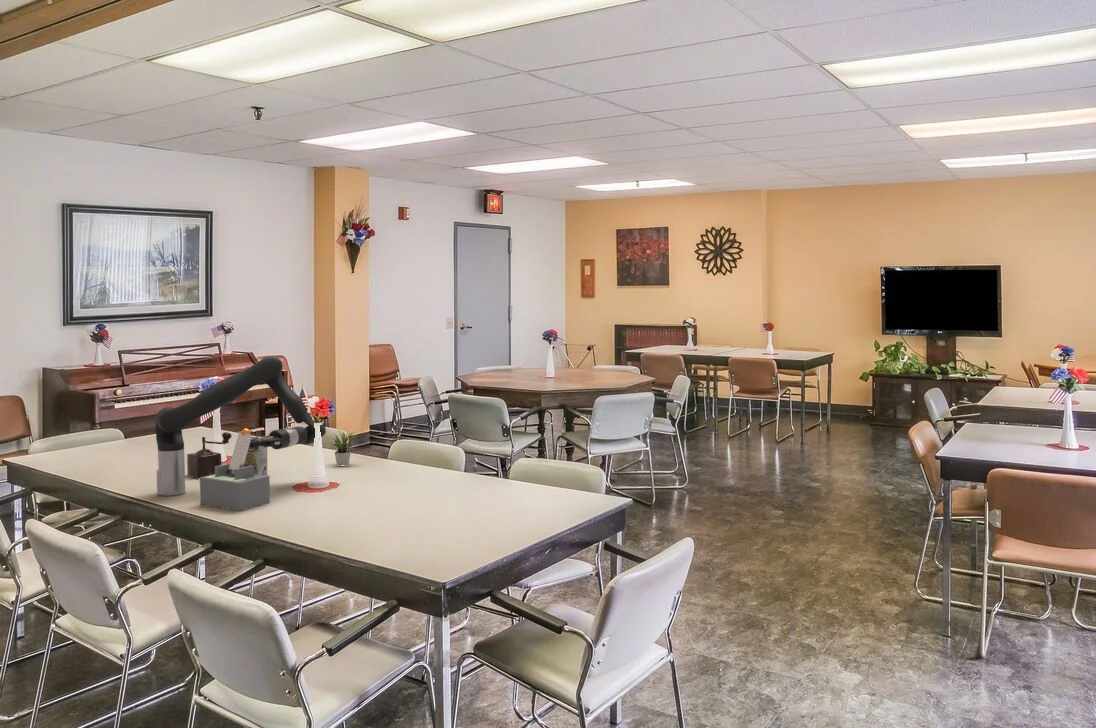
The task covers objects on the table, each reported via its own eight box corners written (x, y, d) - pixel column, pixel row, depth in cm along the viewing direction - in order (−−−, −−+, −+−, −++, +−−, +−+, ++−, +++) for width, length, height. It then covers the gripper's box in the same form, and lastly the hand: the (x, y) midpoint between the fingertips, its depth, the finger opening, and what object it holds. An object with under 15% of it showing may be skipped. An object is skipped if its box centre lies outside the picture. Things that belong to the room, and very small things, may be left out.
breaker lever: (236, 475, 294) (249, 428, 298) (224, 474, 296) (237, 426, 301) (242, 477, 296) (255, 430, 301) (231, 475, 299) (244, 429, 304)
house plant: (366, 462, 374) (365, 427, 373) (356, 468, 360) (355, 432, 359) (336, 461, 375) (335, 426, 374) (325, 467, 362) (324, 431, 360)
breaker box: (240, 511, 287) (239, 472, 286) (200, 504, 296) (199, 466, 295) (269, 502, 299) (269, 465, 298) (231, 496, 308) (230, 460, 307)
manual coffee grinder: (199, 479, 337) (198, 436, 336) (186, 475, 344) (185, 433, 343) (234, 473, 349) (233, 432, 348) (221, 469, 356) (220, 429, 355)
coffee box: (240, 476, 344) (239, 438, 343) (250, 473, 350) (249, 436, 349) (258, 477, 341) (257, 439, 340) (268, 474, 347) (267, 437, 346)
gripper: (271, 427, 321) (236, 433, 305) (296, 430, 315) (262, 436, 299) (271, 446, 321) (237, 453, 306) (296, 449, 315) (262, 456, 300)
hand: (249, 445), depth 302 cm, fingers closed
